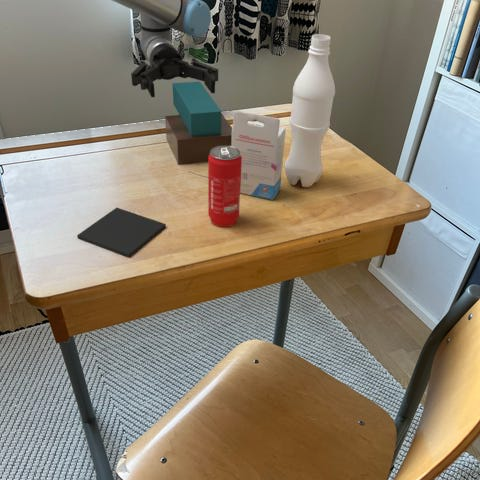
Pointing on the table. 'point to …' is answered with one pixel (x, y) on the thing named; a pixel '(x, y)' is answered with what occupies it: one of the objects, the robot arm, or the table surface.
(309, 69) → the water bottle
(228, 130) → the walnut stand
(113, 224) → the coaster
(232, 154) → the beverage can
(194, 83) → the teal tall block
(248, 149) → the ink box
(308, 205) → the table surface
